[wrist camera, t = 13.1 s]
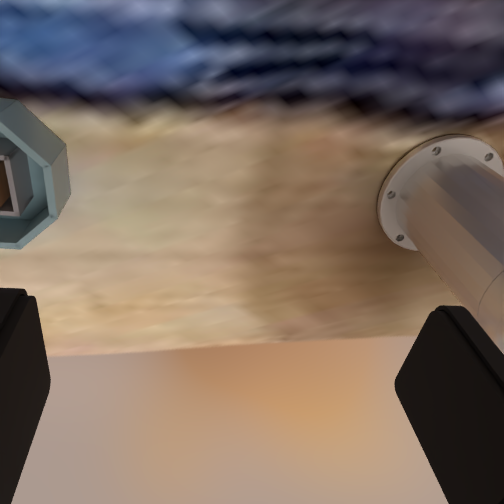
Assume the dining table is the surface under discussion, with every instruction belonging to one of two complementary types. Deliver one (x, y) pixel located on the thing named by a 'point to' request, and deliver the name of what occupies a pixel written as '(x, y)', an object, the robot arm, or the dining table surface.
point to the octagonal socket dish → (30, 175)
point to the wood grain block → (3, 184)
